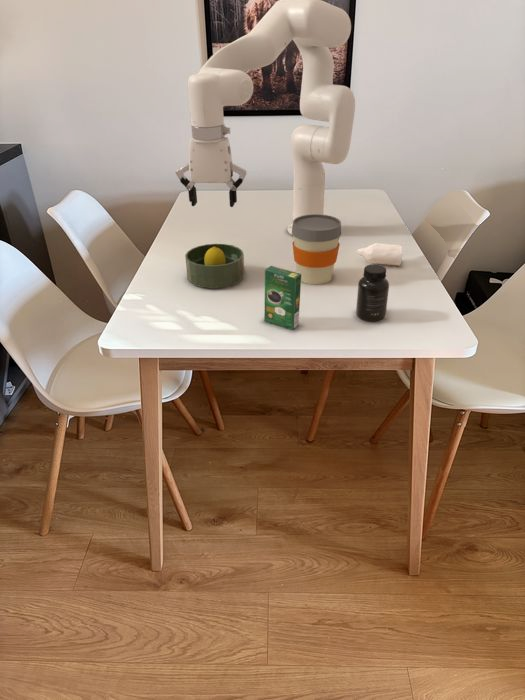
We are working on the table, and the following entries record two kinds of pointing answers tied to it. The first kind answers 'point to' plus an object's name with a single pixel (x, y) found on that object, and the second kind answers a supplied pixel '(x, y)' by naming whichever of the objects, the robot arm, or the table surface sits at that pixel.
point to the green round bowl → (218, 273)
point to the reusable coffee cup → (316, 246)
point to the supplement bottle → (372, 294)
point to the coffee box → (282, 297)
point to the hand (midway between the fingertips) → (213, 204)
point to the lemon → (214, 257)
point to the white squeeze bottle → (382, 254)
